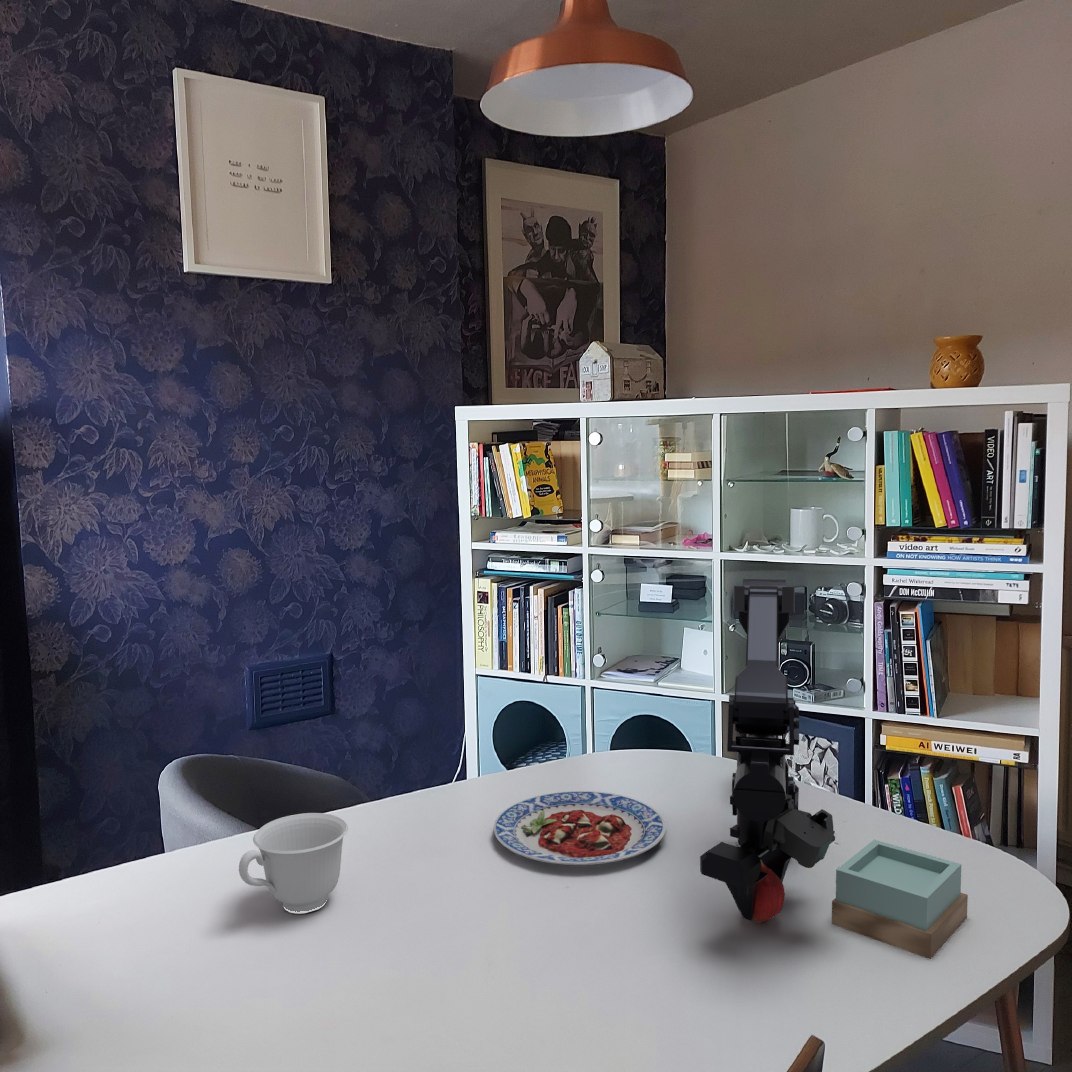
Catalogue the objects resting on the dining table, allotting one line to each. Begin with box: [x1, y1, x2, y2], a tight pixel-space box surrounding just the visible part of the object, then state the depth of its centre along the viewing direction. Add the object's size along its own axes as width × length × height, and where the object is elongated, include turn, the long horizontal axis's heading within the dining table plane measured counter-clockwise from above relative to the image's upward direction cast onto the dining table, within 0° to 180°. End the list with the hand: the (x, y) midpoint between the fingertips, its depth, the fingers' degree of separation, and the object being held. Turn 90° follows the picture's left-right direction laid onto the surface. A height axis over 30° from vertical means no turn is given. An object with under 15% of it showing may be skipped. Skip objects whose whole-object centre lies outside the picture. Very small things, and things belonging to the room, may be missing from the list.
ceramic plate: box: [493, 790, 667, 866], centre depth 144 cm, size 26×26×3 cm
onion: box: [752, 861, 786, 924], centre depth 118 cm, size 6×6×8 cm
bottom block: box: [831, 892, 969, 960], centre depth 118 cm, size 12×12×4 cm
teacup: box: [238, 812, 349, 912], centre depth 124 cm, size 12×15×10 cm
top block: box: [835, 839, 962, 931], centre depth 118 cm, size 11×11×4 cm
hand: (760, 909), depth 118 cm, fingers closed on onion, 6 cm apart
